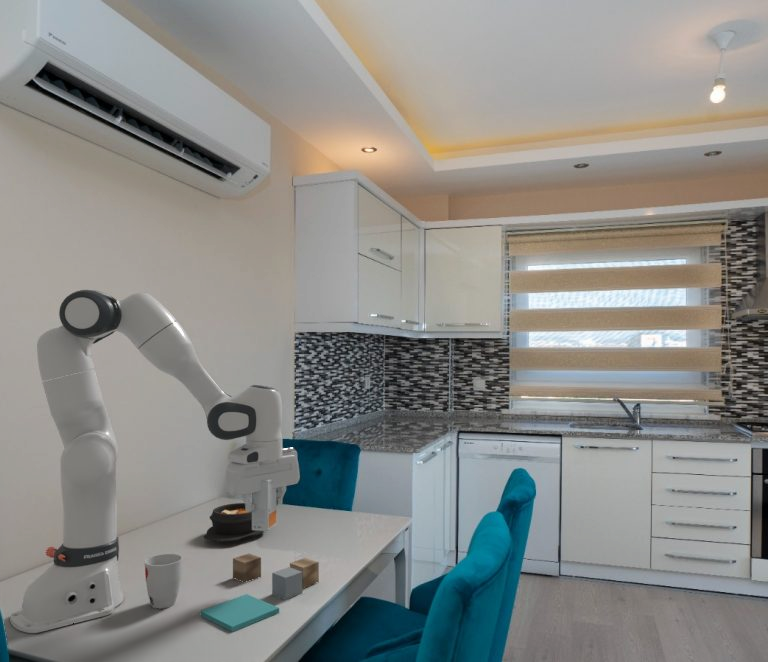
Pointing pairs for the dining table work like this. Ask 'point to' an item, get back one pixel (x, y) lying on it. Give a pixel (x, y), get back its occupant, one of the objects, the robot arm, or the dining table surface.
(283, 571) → the slate grey block
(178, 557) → the cup
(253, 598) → the teal mat
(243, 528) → the casserole
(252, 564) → the walnut block
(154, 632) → the dining table surface
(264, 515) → the skincare box
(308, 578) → the light brown wooden cube
